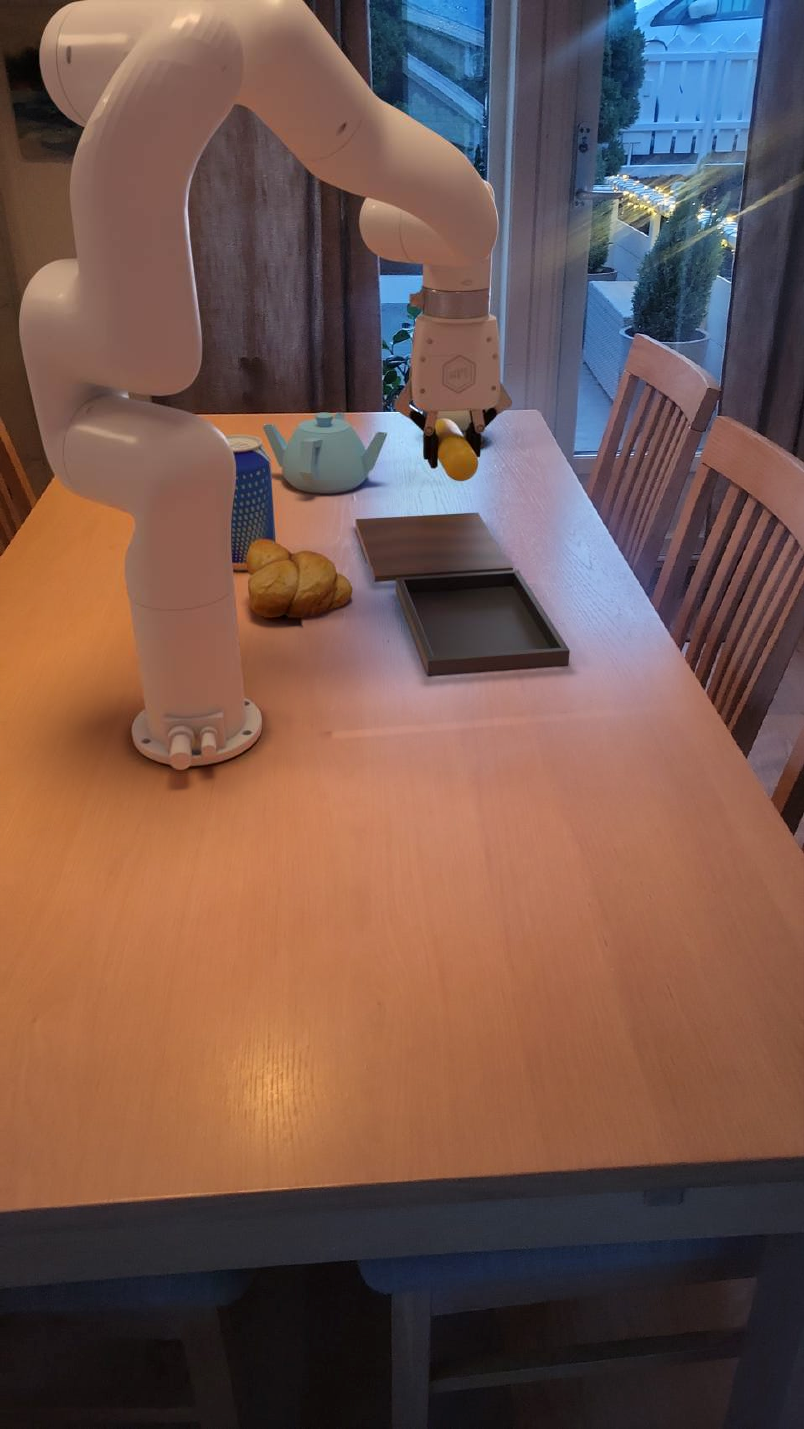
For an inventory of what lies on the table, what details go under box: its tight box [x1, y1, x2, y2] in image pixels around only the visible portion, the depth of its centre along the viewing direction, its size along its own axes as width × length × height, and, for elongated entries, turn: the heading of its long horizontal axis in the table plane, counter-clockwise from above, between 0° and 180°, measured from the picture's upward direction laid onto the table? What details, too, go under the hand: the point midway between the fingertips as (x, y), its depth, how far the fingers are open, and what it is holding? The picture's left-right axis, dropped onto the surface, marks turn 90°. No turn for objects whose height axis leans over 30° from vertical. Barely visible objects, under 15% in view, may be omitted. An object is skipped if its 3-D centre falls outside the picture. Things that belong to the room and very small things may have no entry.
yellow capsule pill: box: [435, 419, 479, 482], centre depth 123 cm, size 15×4×4 cm, turn 8°
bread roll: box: [246, 538, 353, 619], centre depth 123 cm, size 13×10×8 cm
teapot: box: [262, 411, 388, 495], centre depth 162 cm, size 15×15×11 cm
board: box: [354, 512, 514, 582], centre depth 140 cm, size 20×18×2 cm
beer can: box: [224, 434, 277, 571], centre depth 133 cm, size 8×8×16 cm
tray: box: [395, 569, 571, 677], centre depth 119 cm, size 22×16×3 cm
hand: (451, 462), depth 124 cm, fingers closed on yellow capsule pill, 4 cm apart
